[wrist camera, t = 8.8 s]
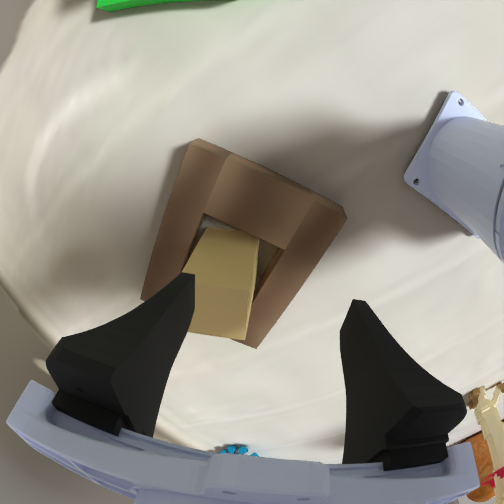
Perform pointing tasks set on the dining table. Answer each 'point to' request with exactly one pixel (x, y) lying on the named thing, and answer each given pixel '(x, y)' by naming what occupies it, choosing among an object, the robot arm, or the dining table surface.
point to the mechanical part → (130, 3)
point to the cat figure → (491, 435)
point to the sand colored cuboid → (223, 282)
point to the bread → (481, 468)
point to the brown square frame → (245, 226)
